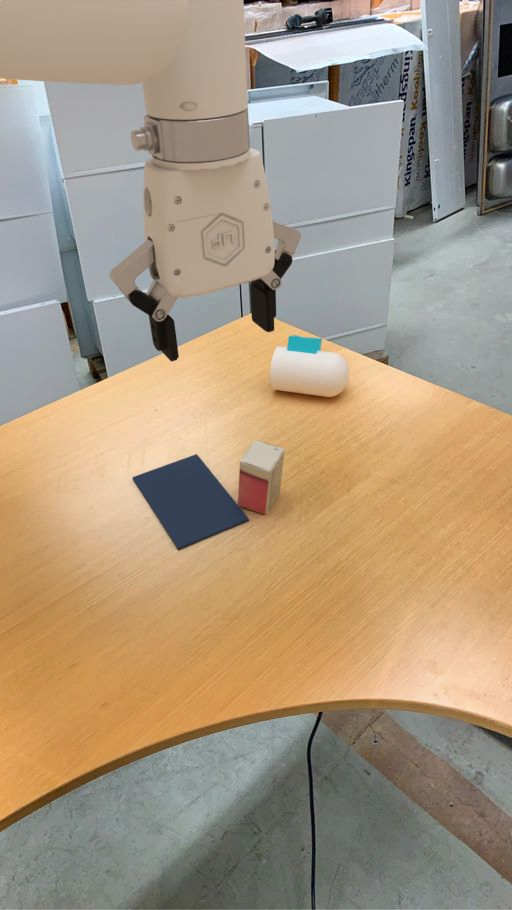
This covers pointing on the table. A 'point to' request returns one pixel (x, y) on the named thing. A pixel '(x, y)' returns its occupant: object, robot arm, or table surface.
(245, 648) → the table surface
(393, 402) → the table surface
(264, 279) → the robot arm
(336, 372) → the white rounded piece
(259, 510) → the small box
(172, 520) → the cloth
